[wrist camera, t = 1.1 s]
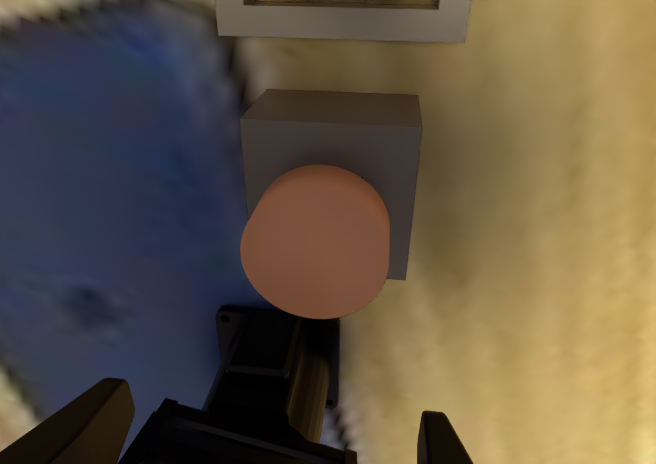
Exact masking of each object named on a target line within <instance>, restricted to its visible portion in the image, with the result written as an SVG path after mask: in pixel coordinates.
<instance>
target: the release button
mask: <svg viewBox="0 0 656 464" xmlns="http://www.w3.org/2000/svg"><path fill="white" fill-rule="evenodd" d="M389 241H390V222H389V216H388V212H387V209H386V207H385V204H384V202H383V200H382V199H381V197H380V196H379V194H378V193H377V192H376V190H375V189H374V188H373V187H372V186H371V185H370V184H369V183H368V182H366V181H365V180H364V179H362V178H361V177H359V176H358V175H356V174H354V173H352V172H350V171H348V170H345V169H342V168H339V167H335V166H329V165H308V166H302V167H299V168H295V169H293V170H290V171H288V172H286V173H284V174H283V175H281V176H279V177H278V178H277V179H276V180H274V181H273V182H272V183H271V184H270V186H269V187H268V188H267V189H266V191H265V192H264V194H263V196H262V197H261V199H260V201H259V203H258V205H257V207H256V208H255V210H254V212H253V214H252V216H251V218H250V219H249V221H248V223H247V225H246V227H245V229H244V231H243V235H242V238H241V244H240V256H241V262H242V266H243V269H244V271H245V274H246V276H247V278H248V279H249V281H250V283H251V284H252V286H253V287H254V288H255V289H256V290H257V292H258V293H259V294H260V295H261V296H262V297H264V298H265V299H266V300H267V301H269V302H270V303H271V304H273V305H274V306H276V307H278V308H279V309H282V310H284V311H286V312H288V313H291V314H294V315H297V316H301V317H305V318H312V319H331V318H337V317H342V316H345V315H349V314H351V313H353V312H356V311H358V310H359V309H361V308H363V307H364V306H366V305H367V304H368V303H370V302H371V301H372V300H373V299H374V298H375V297H376V296H377V294H378V293H379V292H380V290H381V289H382V287H383V285H384V283H385V280H386V277H387V274H388V268H389Z"/></svg>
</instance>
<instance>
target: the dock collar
mask: <svg viewBox="0 0 656 464" xmlns="http://www.w3.org/2000/svg"><path fill="white" fill-rule="evenodd" d="M215 5H216V16H217V26H218V36H249V37H283V38H317V39H351V40H385V41H418V42H452V43H465V40H466V33H467V26H468V19H469V12H470V5H471V0H436V5H397V4H351V3H306V2H260V1H255V0H215Z"/></svg>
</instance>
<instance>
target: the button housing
mask: <svg viewBox="0 0 656 464" xmlns="http://www.w3.org/2000/svg"><path fill="white" fill-rule="evenodd" d="M240 130H241V142H242V154H243V166H244V178H245V190H246V201H247V213H248V221H249V219H250V218H251V216H252V214H253V212H254V210H255V208H256V207H257V205H258V203H259V201H260V199H261V197H262V196H263V194H264V192H265V191H266V189H267V188H268V187H269V186H270V184H271V183H272V182H273V181H274V180H276V179H277V178H278V177H279V176H281V175H283V174H284V173H286V172H288V171H290V170H293V169H295V168H299V167H302V166H308V165H329V166H335V167H339V168H342V169H345V170H348V171H350V172H352V173H354V174H356V175H358V176H364V177H363V179H364V180H365V181H366V182H368V183H369V184H370V185H371V186H372V187H373V188H374V189H375V190H376V192H377V193H378V194H379V196H380V197H381V199H382V200H383V202H384V204H385V207H386V209H387V212H388V216H389V222H390V241H389V268H388V274H387V277H386V279H395V280H406V272H407V263H408V254H409V245H410V236H411V227H412V218H413V209H414V200H415V190H416V181H417V172H418V163H419V154H420V145H421V136H422V121H421V114H420V107H419V100H418V95H398V94H373V93H349V92H324V91H299V90H275V89H267V90H266V91H265V92H264V93H263V94H262V95H261V96H260V97H259V99H258V100H257V101H256V102H255V103H254V104H253V105H252V106H251V107H250V108H249V109H248V110H247V111H246V112H245V114H244V115H243V116H242V117H241V118H240Z"/></svg>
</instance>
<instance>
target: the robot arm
mask: <svg viewBox="0 0 656 464" xmlns="http://www.w3.org/2000/svg"><path fill="white" fill-rule="evenodd" d="M224 315H227V316H228V318H227V317H225V316H224ZM216 324H217V332H218V339H219V346H220V353H221V360H222V363H221V365H220V368H219V370H218V372H217V375H216V377H215V379H214V382H213V384H212V387H211V389H210V391H209V394H208V396H207V398H206V401H205V403H204V405H203V408H202V410H199V409H195V408H192V407H188V406H185V405H181V404H178V401H175V400H171V399H168V398H165V400H164V401H163V403H162V404H161V406H160V407H159V408H158V410H157V411H156V412H155V411H154V412H153V413H152V414H151V416H150V417H149V419H148V420H147V422H146V423H145V425H144V426H143V427H142V429H141V430H140V432H139V433H138V435H137V436H136V438H135V439H134V441H133V442H132V443H131V445H130V446H129V448H128V449H127V451H126V452H125V454H124V455H123V457H122V458H121V459H120V461H119V462H118V464H357V452H356V451H352V450H348V449H344V450H340V449H337V448H333V447H330V446H326V445H323V444H319V443H320V436H321V430H322V424H323V417H324V411H325V408H335V407H336V406H337V404H338V394H339V360H340V325H341V324H340V320H339V319H338V318H331V319H312V318H305V317H301V316H297V315H294V314H291V313H288V312H286V311H275V310H263V309H252V308H240V307H229V306H223V307H221V308H220V309H219V310H218V312H217V314H216ZM328 324H331V325H333V327H330V326H328ZM328 399H330V400H328ZM134 412H135V407H134V403H133V399H132V395H131V392H130V388H129V385H128V382H127V381H126V380H124V379H118V378H105V379H103V380H101V381H100V382H98V383H97V384H95V385H94V386H93V387H91V388H90V389H88V390H87V391H86V392H84V393H83V394H81V395H80V396H79V397H77V398H76V399H74V400H73V401H71V402H70V403H69V404H67V405H66V406H64V407H63V408H62V409H60V410H59V411H57V412H56V413H55V414H53V415H52V416H50V417H49V418H47V419H46V420H45V421H43V422H42V423H40V424H39V425H38V426H36V427H35V428H33V429H32V430H31V431H29V432H28V433H26V434H25V435H23V436H22V437H21V438H19V439H18V440H16V441H15V442H14V443H12V444H11V445H9V446H8V447H7V448H5V449H4V450H2V451H1V452H0V464H117V461H118V458H119V456H120V453H121V450H122V447H123V445H124V442H125V439H126V437H127V434H128V431H129V428H130V426H131V423H132V420H133V417H134ZM417 464H473V462H472V460H471V458H470V456H469V455H468V453H467V451H466V449H465V448H464V446H463V444H462V442H461V441H460V439H459V437H458V435H457V434H456V432H455V430H454V428H453V427H452V425H451V423H450V421H449V419H448V418H447V416H446V415H445V414H444V413H443V412H436V411H427V410H426V411H423V413H422V416H421V422H420V429H419V435H418V444H417Z"/></svg>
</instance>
